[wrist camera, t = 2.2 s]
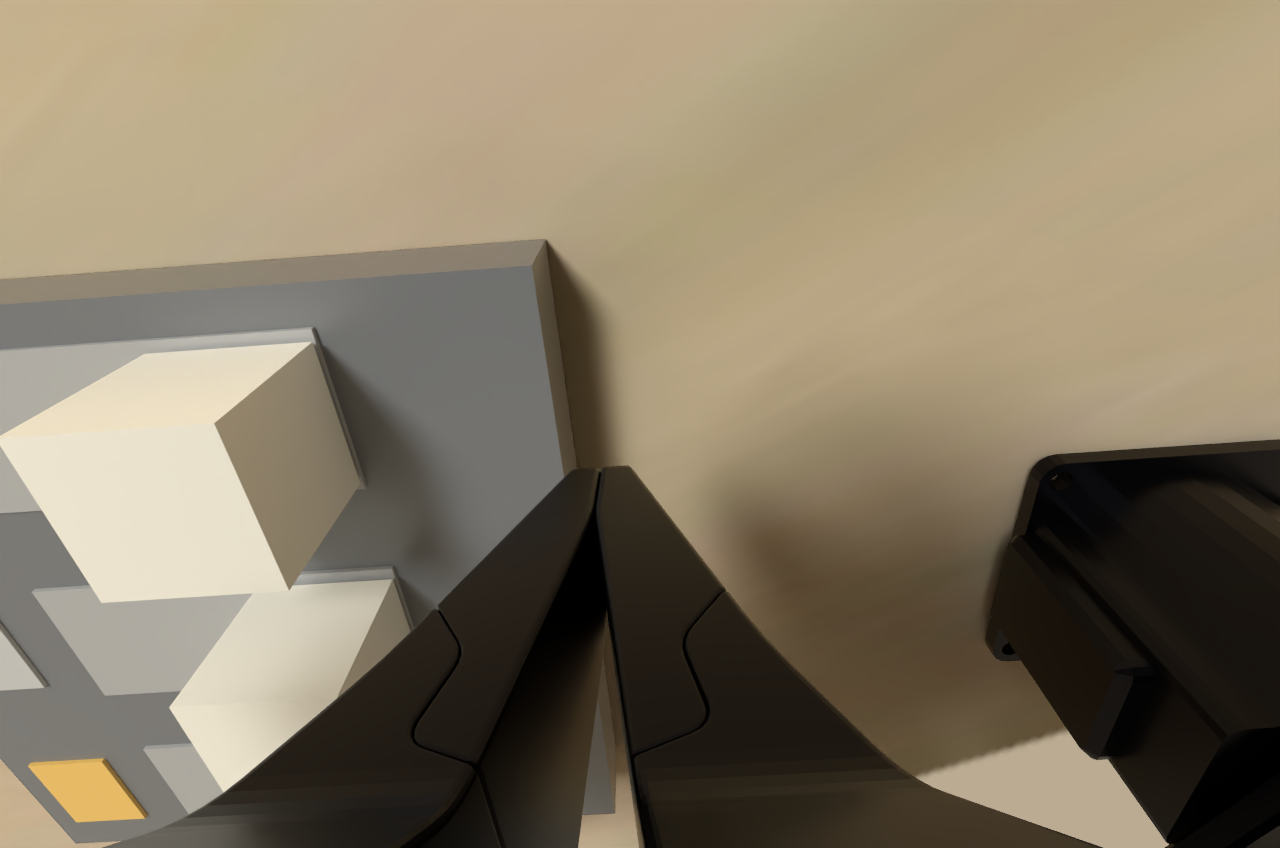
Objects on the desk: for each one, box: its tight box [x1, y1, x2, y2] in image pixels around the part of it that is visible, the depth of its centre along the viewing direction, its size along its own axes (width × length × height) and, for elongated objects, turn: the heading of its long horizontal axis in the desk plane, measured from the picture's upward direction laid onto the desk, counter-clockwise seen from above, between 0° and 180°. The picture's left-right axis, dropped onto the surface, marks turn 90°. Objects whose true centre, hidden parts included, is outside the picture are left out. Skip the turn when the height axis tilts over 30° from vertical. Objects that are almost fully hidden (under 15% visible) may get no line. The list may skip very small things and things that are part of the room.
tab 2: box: [169, 579, 411, 792], centre depth 13 cm, size 3×3×3 cm
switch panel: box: [0, 239, 616, 844], centre depth 16 cm, size 16×16×2 cm
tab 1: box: [0, 342, 360, 603], centre depth 11 cm, size 3×3×3 cm
